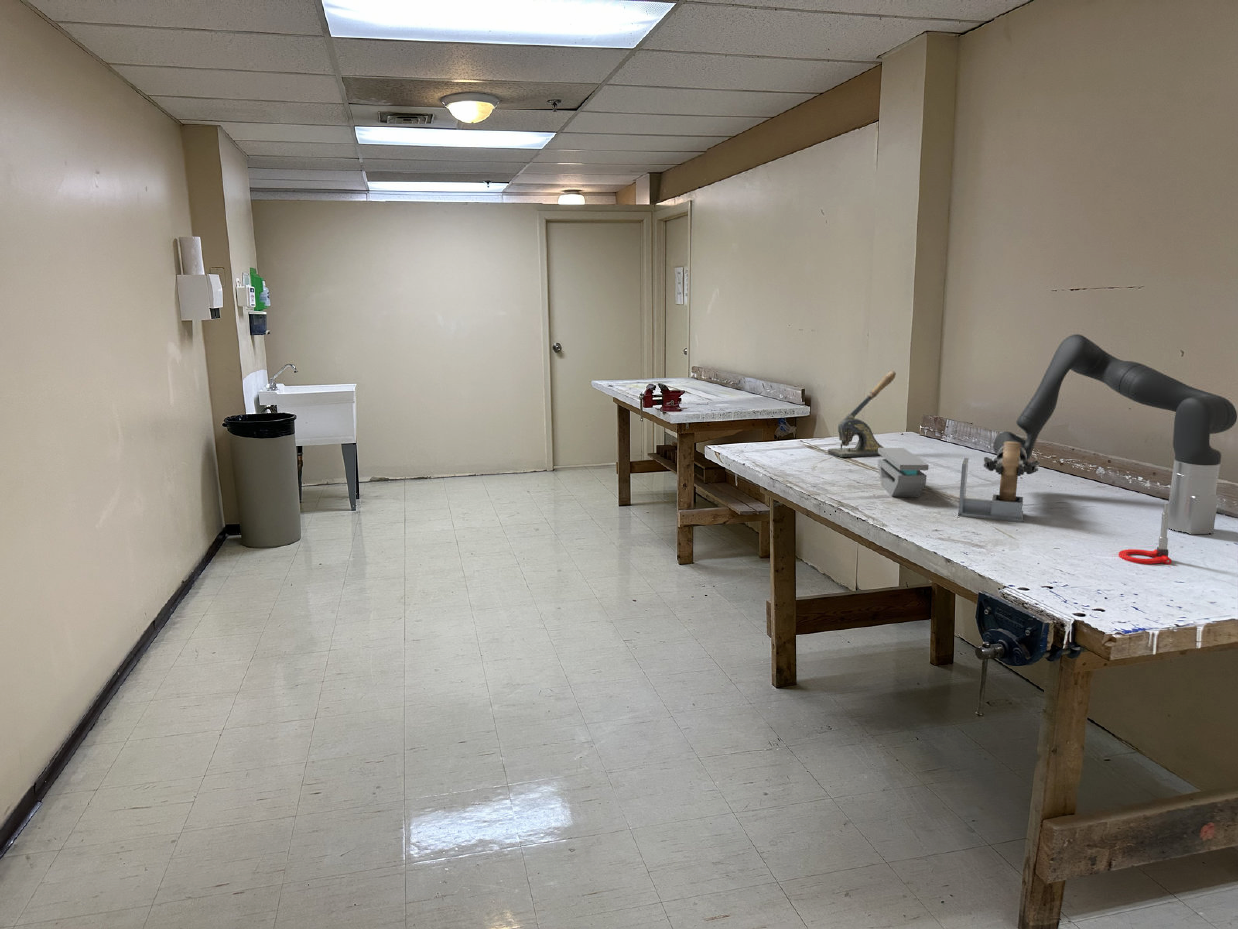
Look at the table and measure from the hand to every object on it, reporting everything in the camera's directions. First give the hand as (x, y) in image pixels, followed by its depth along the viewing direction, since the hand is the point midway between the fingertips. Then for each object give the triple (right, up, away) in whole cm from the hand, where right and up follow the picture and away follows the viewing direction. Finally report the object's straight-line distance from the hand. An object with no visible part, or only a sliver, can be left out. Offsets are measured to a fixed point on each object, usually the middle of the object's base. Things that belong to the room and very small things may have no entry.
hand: (1009, 471), depth 213 cm
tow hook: (+16, -20, -29) cm, 39 cm away
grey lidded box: (-18, -7, +32) cm, 37 cm away
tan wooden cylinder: (+1, -8, +4) cm, 9 cm away
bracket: (-2, -12, +7) cm, 13 cm away
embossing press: (-12, +5, +87) cm, 88 cm away
